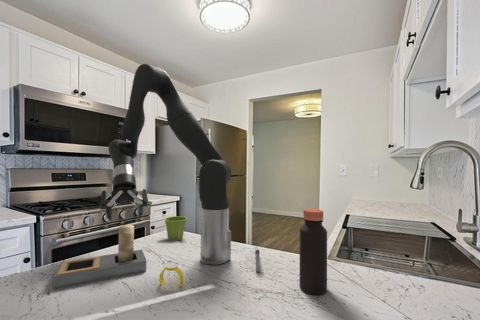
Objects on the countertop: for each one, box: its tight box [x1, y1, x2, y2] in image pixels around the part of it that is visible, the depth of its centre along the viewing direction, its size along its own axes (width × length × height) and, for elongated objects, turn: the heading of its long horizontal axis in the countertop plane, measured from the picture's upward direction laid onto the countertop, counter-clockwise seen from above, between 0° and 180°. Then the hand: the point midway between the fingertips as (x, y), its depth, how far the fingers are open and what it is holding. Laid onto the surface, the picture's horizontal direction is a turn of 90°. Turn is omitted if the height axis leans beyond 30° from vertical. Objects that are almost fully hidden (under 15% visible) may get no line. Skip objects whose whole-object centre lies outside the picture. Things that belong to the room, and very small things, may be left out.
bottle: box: [298, 208, 328, 296], centre depth 60 cm, size 7×7×20 cm
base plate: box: [52, 249, 147, 291], centre depth 66 cm, size 21×10×4 cm, turn 119°
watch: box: [158, 263, 184, 288], centre depth 59 cm, size 6×3×6 cm, turn 78°
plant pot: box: [163, 216, 188, 241], centre depth 99 cm, size 9×9×9 cm
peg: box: [117, 224, 135, 263], centre depth 69 cm, size 4×4×12 cm
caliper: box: [254, 245, 260, 272], centre depth 79 cm, size 20×1×6 cm, turn 177°
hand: (125, 217), depth 75 cm, fingers open, 8 cm apart
